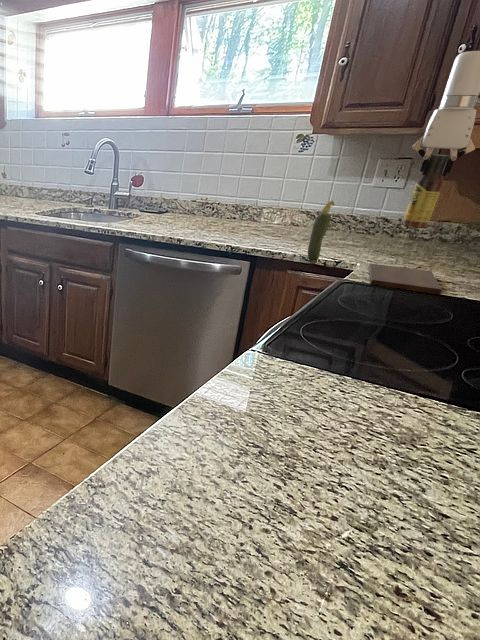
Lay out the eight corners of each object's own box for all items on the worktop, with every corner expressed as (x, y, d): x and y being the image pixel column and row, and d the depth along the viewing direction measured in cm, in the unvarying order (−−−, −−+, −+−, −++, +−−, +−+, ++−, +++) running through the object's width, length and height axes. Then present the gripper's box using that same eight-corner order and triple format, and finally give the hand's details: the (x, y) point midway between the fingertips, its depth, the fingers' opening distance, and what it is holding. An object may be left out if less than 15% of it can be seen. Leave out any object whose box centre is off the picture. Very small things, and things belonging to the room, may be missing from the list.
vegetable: (301, 262, 172) (318, 199, 164) (306, 260, 175) (322, 198, 167) (316, 265, 170) (333, 201, 161) (320, 263, 172) (338, 200, 164)
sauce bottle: (400, 223, 160) (424, 153, 151) (425, 225, 157) (451, 155, 149) (402, 226, 155) (427, 154, 146) (428, 229, 152) (455, 155, 143)
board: (429, 275, 161) (431, 271, 160) (440, 294, 142) (442, 289, 141) (368, 267, 168) (369, 263, 167) (370, 284, 149) (371, 279, 149)
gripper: (495, 104, 141) (468, 176, 148) (418, 104, 149) (397, 172, 157) (500, 103, 135) (472, 177, 143) (420, 103, 143) (398, 174, 151)
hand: (433, 174), depth 150 cm, fingers closed on sauce bottle, 4 cm apart
